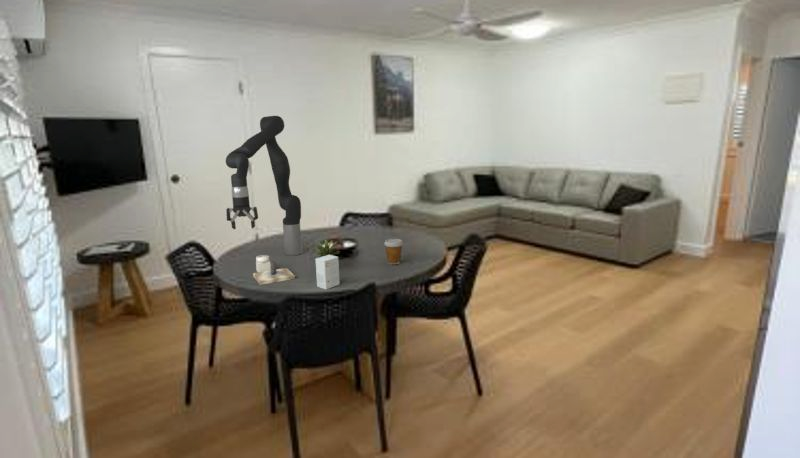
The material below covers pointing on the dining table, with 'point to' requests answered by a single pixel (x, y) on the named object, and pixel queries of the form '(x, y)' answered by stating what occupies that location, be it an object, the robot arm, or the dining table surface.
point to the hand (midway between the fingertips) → (243, 228)
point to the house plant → (326, 249)
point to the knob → (262, 263)
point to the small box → (327, 271)
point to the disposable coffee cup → (393, 250)
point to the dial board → (273, 275)
